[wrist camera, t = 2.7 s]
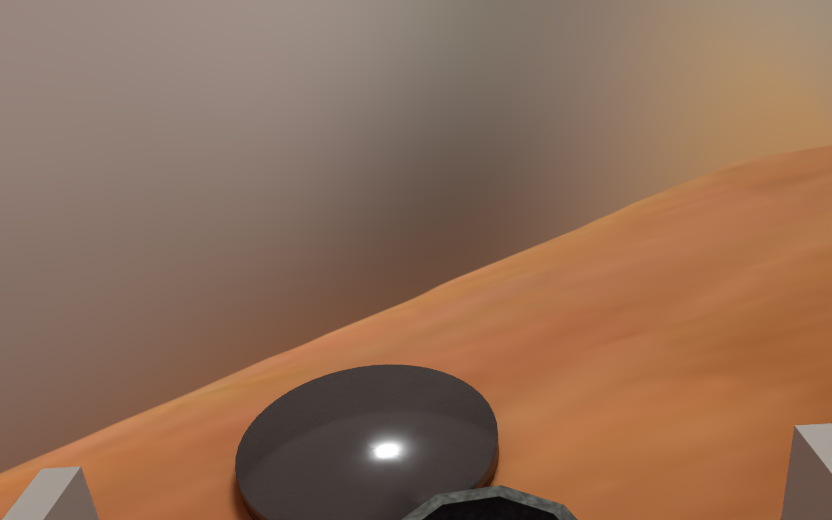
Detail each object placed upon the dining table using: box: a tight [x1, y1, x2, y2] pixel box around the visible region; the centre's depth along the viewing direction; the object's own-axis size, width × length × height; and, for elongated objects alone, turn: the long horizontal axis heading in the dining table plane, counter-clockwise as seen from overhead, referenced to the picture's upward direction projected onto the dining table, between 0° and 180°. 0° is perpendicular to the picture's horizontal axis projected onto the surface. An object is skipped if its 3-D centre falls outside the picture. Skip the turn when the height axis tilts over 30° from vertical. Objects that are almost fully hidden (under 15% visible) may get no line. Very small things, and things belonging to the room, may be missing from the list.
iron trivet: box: [235, 365, 499, 520], centre depth 46 cm, size 17×17×2 cm
